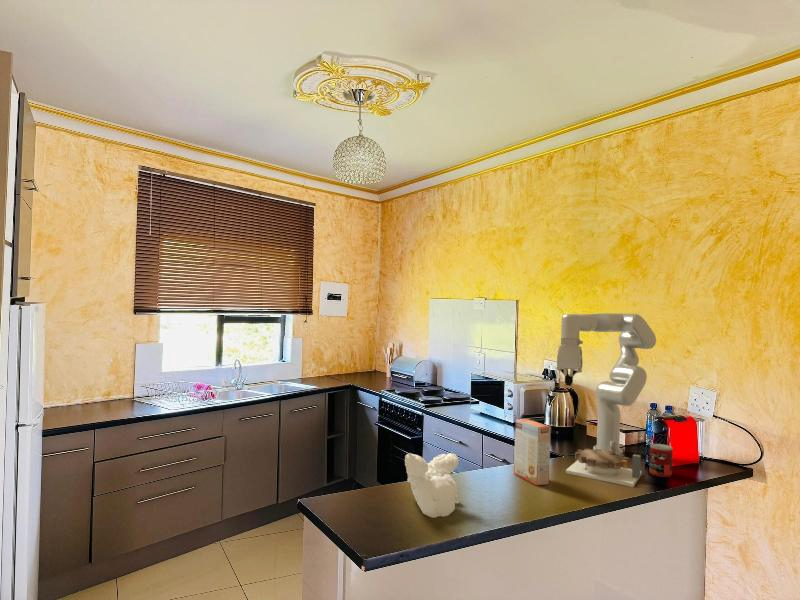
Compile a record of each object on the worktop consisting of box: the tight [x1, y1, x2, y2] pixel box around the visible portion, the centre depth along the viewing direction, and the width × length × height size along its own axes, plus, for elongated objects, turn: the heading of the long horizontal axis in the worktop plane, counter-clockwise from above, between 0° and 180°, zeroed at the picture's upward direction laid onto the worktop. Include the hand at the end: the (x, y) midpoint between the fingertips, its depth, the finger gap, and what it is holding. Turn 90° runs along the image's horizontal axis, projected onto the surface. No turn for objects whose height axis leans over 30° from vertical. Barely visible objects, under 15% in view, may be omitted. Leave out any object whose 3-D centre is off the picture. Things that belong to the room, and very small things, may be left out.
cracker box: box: [513, 418, 552, 486], centre depth 185 cm, size 14×6×21 cm, turn 22°
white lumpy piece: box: [404, 452, 460, 519], centre depth 156 cm, size 19×20×20 cm
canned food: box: [648, 443, 674, 478], centre depth 198 cm, size 8×8×11 cm
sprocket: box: [574, 441, 630, 469], centre depth 196 cm, size 19×19×7 cm
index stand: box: [565, 453, 643, 488], centre depth 195 cm, size 19×25×9 cm
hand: (568, 385), depth 217 cm, fingers closed
